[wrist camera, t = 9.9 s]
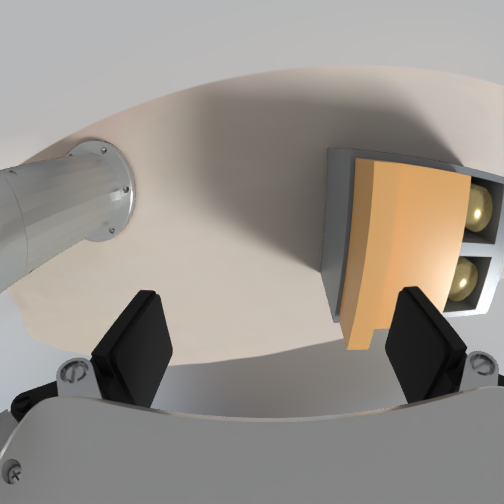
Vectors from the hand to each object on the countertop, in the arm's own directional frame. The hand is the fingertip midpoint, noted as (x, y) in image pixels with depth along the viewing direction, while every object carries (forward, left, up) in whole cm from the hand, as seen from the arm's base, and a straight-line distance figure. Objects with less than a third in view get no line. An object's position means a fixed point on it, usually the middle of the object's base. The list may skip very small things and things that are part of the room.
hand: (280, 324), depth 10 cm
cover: (+9, 0, -10) cm, 14 cm away
